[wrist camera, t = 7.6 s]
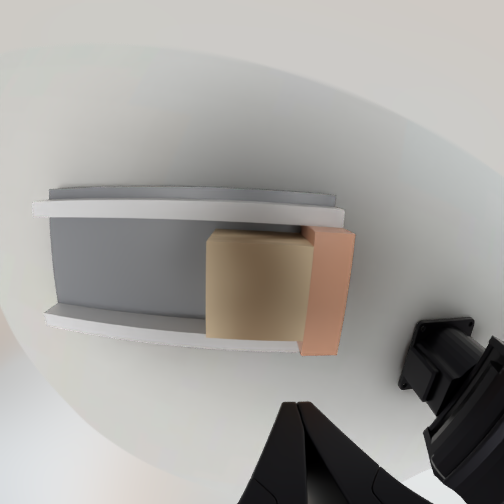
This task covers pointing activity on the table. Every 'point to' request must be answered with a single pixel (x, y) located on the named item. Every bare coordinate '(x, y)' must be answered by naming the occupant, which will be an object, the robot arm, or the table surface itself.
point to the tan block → (257, 285)
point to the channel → (182, 260)
